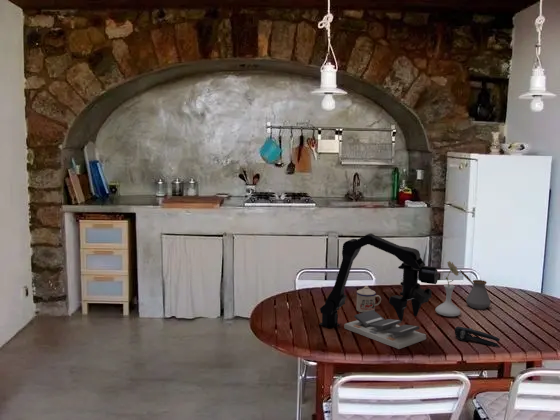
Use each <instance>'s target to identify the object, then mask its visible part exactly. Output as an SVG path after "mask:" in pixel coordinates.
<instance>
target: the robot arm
mask: <svg viewBox="0 0 560 420" xmlns="http://www.w3.org/2000/svg"><path fill="white" fill-rule="evenodd" d="M367 245H370V246H372V247H374V248H376V249H379V250H381V251H383V252H386V253H388V254H390V255H393V256H394V257H396V258H397V259H398V260H399V261H400V262H402V263H401V265H400V266H398V269H399V270H403V272H402V274H403V275H402V281H401V282H400V284H399V285H400V286H402V287H401V289H402V291H401V292H399V295H398V294H396V295H392V296H389V299H388V303H389V304H390V305H391V306H392V307H393V308H394V310H395V312H396V315H397V317H398V320H400V321H401V322H403V320H404V313H405V310H406V308H407V307H408V306H407V305H408V301H410V302H411V306H412V307H411V309H412V314H413V316H414V317H418V314H419V311H420V308H421V306H422V305H424V304H425V303H428V302H429V300H430V299H432V292H433V291H432V289H431V288H426V289H425V288H423V289H422V288H421V284H420V283H418V281H420V282H421V283H422V284H423V283H424V284H431V285H437V283H438V281H439V271H438V267H437V266H434V265H433V266H430V265H426V263H425V262H424V260H423V258H422V257H421V253H420V251H419V250H418V249H417V248H414V247H410V246H409V247H408V246H402V245H398V244H396V243H394V242H391V241H389V240H386V239H385V238H382V237H380V236H377V235H375V234H373V233H368V234H365V235H364V236H362V237H360V238H352V239H349V240H346V241H344V243H343V244H342V248H341V249H342V250H341V256H342V257H341V258H342V260H341V262H340V266H339V269H338V272H337V276H336V280H335V282H334V284H333V285H334V286H333V288H332V290H331V291H330V293H329V294H328V296H327V297H326V300H325V302H324V303H325V304H324V305H322V306H321V307H320V308H319V311H320V313H321V322H320V323H319V325H320V326H322V327H325V328H327V329H333V328H336V327H340V324H339V323H338V320H339V313H338V311H339V310H340V308H341V307H343V305H345V304H346V299H347V297H348V295H347V294H345V288H346V285H347V282H348V278H349V276H350V272H351V269H352V266H353V263H354V260H355V259H356V257H358V255H359V252H360V250H361V249H362V247H364V246H367Z"/></svg>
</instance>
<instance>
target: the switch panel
mask: <svg viewBox="0 0 560 420" xmlns="http://www.w3.org/2000/svg"><path fill="white" fill-rule="evenodd" d="M399 326H400V325H399V324H396V325H393V326H390V327H386V328H383V329H382V328H374V327H370V325H369V326H366V327H365V326H364V325H363V324H362V323H361V322H359V321H358V320H357V319H356V320H353V321H350V322H346V323H344V326H343V327H344V329H345V330H348V331H350V332H353V333H355V334H358V335H361V336H363V337H366V338H368V339H371V340H374V341H377V342H379V343H381V344H384V345H388V347H389V346H390V347H393V348H395V349H397V350H400V349H403V348H405V347H409V346H412V345H415V344H417V343H419V342H423V341H425V340H427V334H425V333H424V332H423V333H422V332H419V331H417V330H414V331H411V332H409V333H406V334H403V335H397V334H390V333H387V330H390V329H393V328H396V327H399Z"/></svg>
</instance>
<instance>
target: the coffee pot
mask: <svg viewBox="0 0 560 420" xmlns="http://www.w3.org/2000/svg"><path fill="white" fill-rule="evenodd" d="M459 272H460V273H458V274H459V275H460V274H462V275H463V277H464V278H465V279H466V280H468V281H469V282H470V283H471V285H472V287H471V290H470V291H469V293H468V295H467V297H466V299H465V302H466V304H467V305H468V306H469V307H470V308H471V309H475V310H485V309H487V308H489V307H490V305H491V304H492V303H491V299H490V297H489V293H488V291H487V287H486V285H487V283H488V282H487V281H486V280H481V279H474V280H471V278H470V277H469V276H468V275H467V274H466V273H465V272H464V271H462V269H461V270H459Z"/></svg>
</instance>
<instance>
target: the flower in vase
mask: <svg viewBox="0 0 560 420" xmlns="http://www.w3.org/2000/svg"><path fill="white" fill-rule="evenodd" d="M447 266H448V268H449V272H448V274H447V276H445V280H446V281H447V284H444V285H443V287H444V289H445V294H446V296H445V300H444V302H442V303H440V304H438V305H437V306H436V307H435V312H436V313H437V314H438V315H441V316H445V317H457V316H459V315H461V313H462V312H461V309H459V307H458V306H456V305H455V303H453V302H452V293H453V290H454V289H455V288H456V286H455V285H453V284H450V283H451V282H454V279H452V280H450V281H449V275H450V274H451V272H452V274H454V275H455V276H456V277H457V276H459V275H460V274H459V272H460V271H459V270H458V269H457V266H456V265H455V264H454V262H452V261H451V260H449V261H447Z"/></svg>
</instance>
